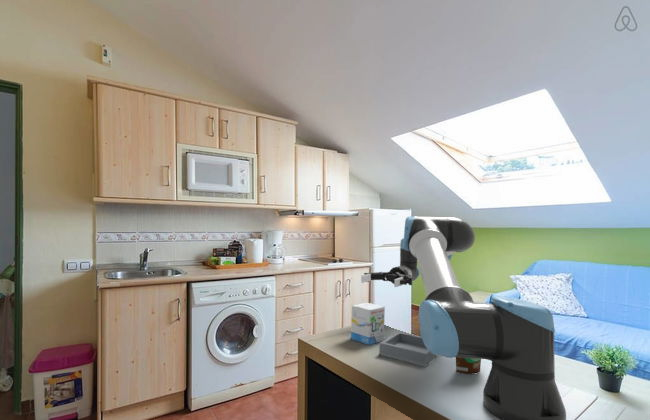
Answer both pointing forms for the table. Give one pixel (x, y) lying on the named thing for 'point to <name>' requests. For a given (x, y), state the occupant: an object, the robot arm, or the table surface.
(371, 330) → the ink box
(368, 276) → the robot arm
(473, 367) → the food container
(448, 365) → the table surface
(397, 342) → the housing tray
